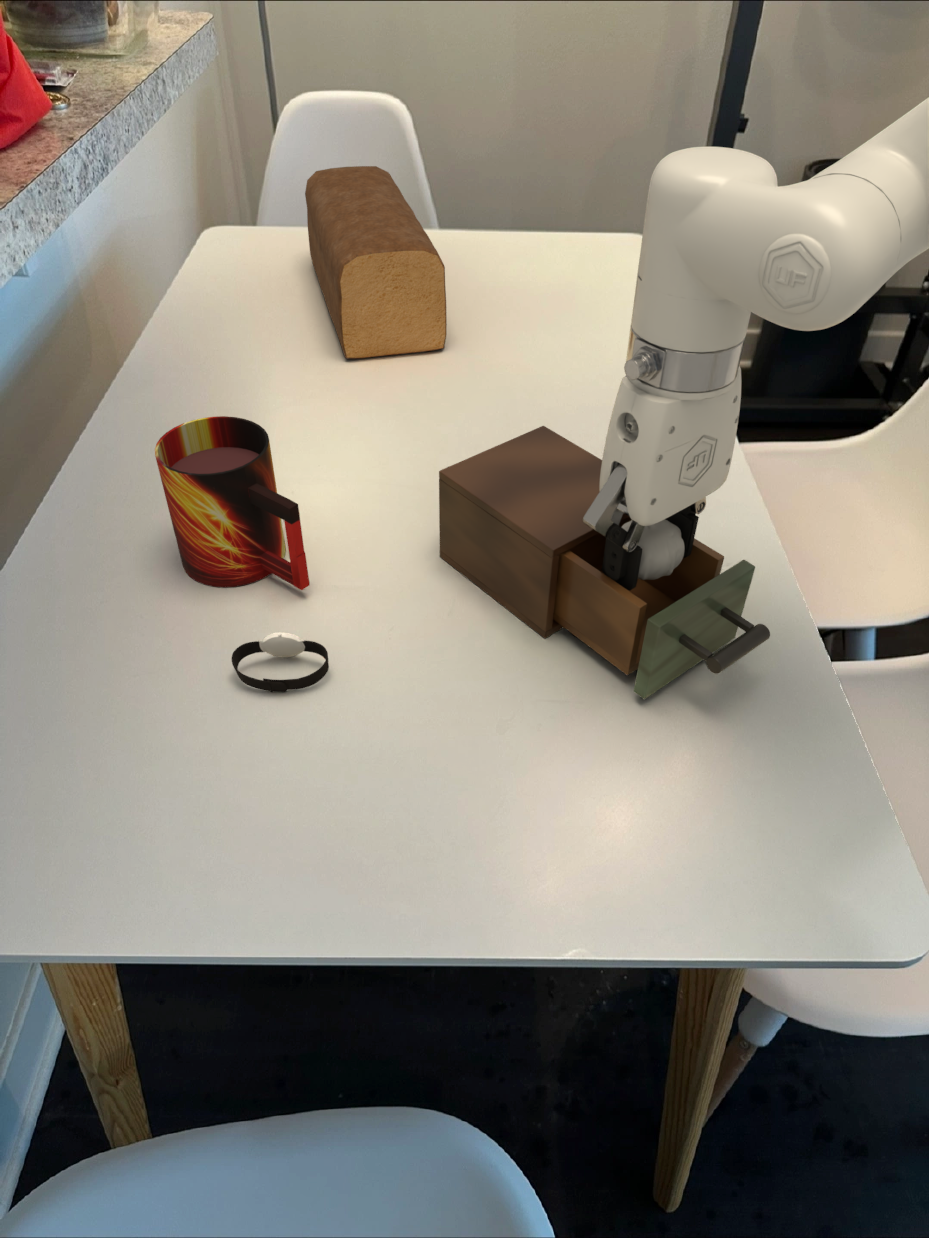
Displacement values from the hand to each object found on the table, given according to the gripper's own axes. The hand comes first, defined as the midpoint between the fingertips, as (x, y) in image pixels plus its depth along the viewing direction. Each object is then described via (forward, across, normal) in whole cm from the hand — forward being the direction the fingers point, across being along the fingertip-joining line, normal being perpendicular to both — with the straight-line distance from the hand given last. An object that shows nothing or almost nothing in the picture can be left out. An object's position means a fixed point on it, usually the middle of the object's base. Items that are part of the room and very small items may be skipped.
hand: (646, 562), depth 73 cm
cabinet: (+8, 0, +12) cm, 14 cm away
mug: (+8, -20, +30) cm, 37 cm away
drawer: (+7, 0, -2) cm, 7 cm away
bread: (+8, +22, +70) cm, 74 cm away
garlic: (+1, 0, 0) cm, 1 cm away
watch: (+8, -26, +15) cm, 31 cm away
